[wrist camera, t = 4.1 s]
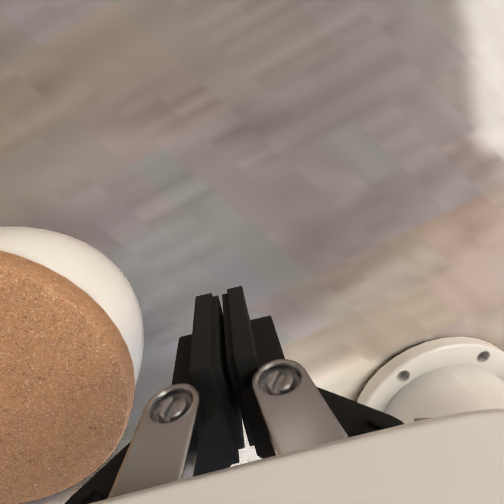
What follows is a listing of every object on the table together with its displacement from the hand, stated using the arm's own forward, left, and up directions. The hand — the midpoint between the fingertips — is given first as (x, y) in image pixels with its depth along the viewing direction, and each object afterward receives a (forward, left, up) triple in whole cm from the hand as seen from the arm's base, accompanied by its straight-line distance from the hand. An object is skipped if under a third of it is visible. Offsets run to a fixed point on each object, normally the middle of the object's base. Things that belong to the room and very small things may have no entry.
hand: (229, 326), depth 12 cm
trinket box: (+9, 0, -8) cm, 12 cm away
